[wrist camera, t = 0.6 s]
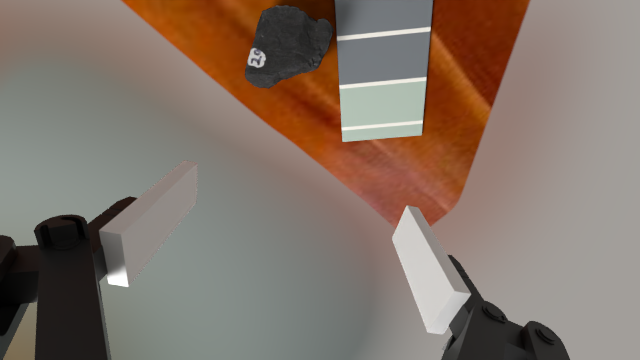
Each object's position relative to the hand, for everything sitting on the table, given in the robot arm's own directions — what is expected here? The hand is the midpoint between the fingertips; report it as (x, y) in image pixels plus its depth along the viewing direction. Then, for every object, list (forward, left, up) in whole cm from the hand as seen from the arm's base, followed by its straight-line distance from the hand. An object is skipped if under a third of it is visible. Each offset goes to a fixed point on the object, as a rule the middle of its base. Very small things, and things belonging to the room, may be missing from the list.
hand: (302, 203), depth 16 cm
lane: (-8, +10, -25) cm, 28 cm away
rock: (-9, -3, -25) cm, 27 cm away
